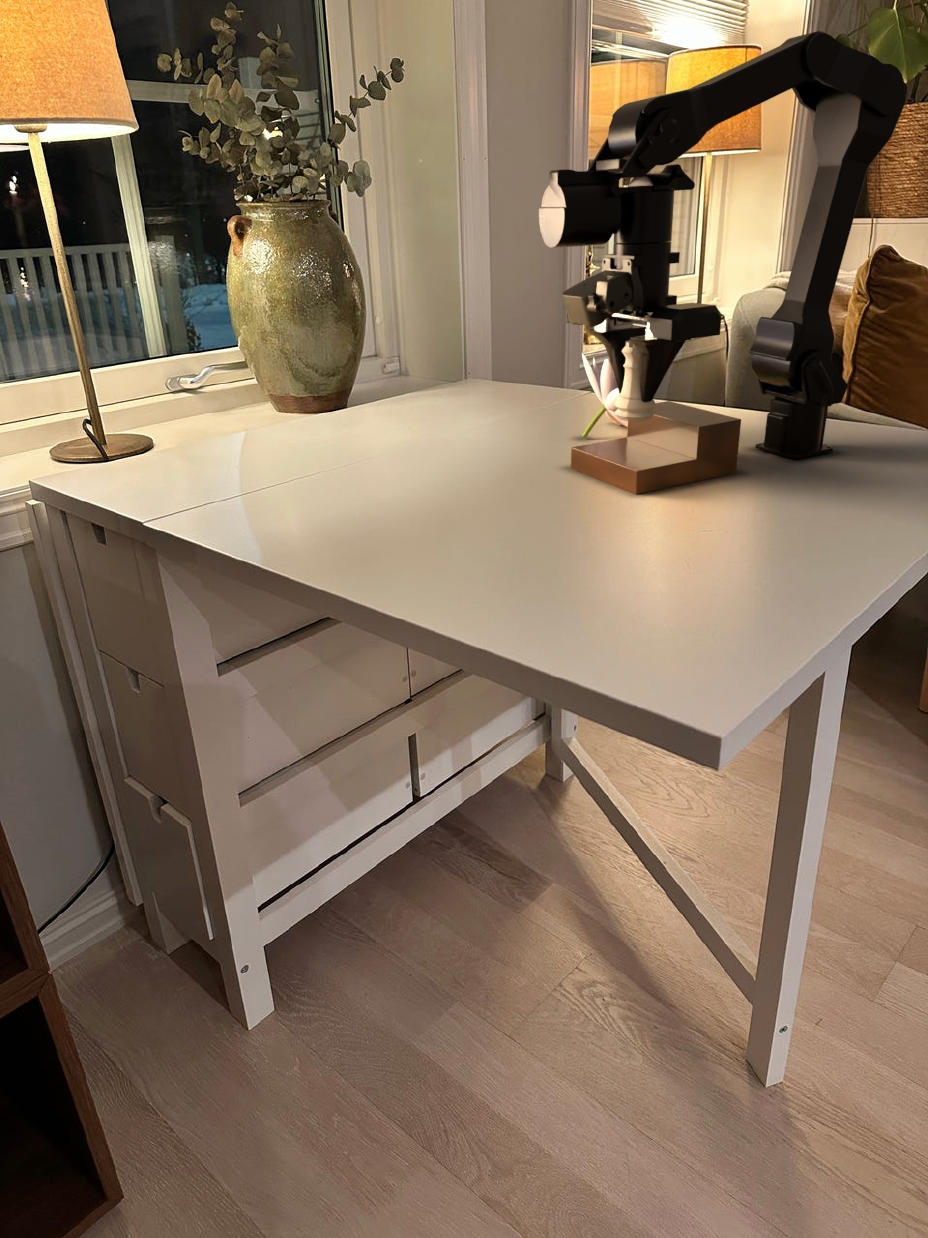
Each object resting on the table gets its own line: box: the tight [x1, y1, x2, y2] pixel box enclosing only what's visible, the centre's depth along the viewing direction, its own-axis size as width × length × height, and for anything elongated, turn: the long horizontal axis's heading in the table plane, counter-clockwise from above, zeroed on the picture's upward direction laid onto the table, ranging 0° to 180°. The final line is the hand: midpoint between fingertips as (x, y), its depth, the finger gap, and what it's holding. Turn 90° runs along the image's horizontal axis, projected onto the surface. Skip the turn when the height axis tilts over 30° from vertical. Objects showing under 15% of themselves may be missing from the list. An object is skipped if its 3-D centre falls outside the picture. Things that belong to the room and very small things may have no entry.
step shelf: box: [570, 400, 742, 495], centre depth 99 cm, size 14×12×6 cm
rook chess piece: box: [614, 340, 656, 421], centre depth 95 cm, size 4×4×8 cm
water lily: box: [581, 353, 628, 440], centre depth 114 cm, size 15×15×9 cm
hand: (635, 398), depth 96 cm, fingers closed on rook chess piece, 3 cm apart
